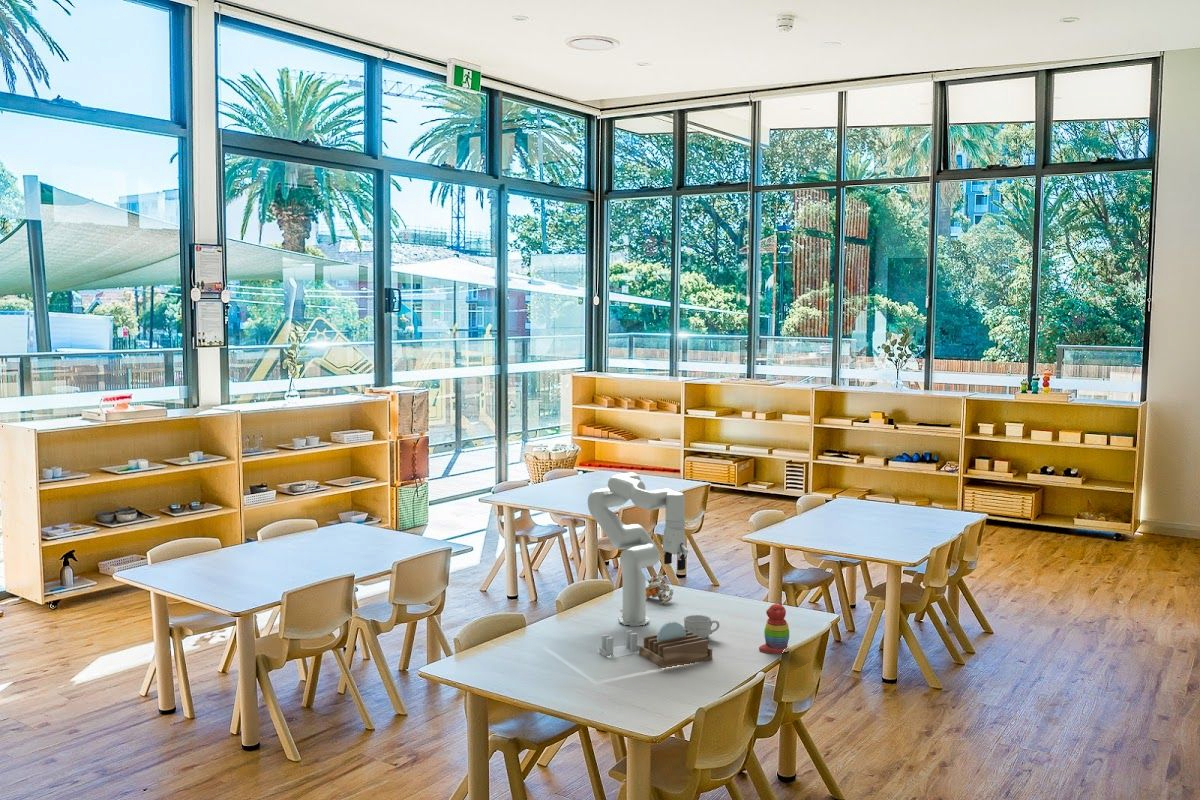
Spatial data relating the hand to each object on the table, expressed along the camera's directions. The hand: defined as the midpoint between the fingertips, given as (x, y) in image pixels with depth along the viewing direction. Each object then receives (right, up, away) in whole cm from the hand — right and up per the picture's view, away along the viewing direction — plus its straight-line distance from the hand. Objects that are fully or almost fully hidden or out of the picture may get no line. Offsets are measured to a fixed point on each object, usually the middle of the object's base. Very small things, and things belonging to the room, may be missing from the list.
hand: (674, 566), depth 400 cm
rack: (-1, -30, -22) cm, 37 cm away
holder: (-22, -30, -17) cm, 41 cm away
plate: (-5, -29, -22) cm, 36 cm away
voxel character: (-5, -24, +49) cm, 55 cm away
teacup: (+11, -28, +1) cm, 30 cm away
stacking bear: (+37, -30, -13) cm, 50 cm away
